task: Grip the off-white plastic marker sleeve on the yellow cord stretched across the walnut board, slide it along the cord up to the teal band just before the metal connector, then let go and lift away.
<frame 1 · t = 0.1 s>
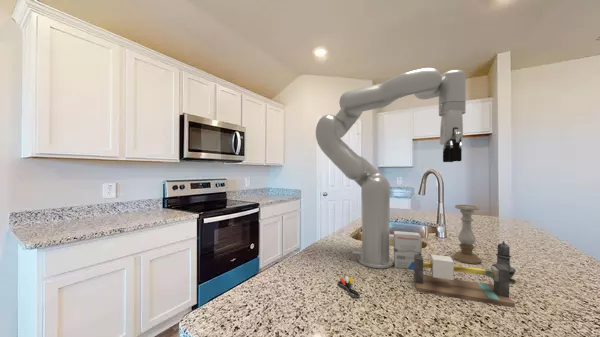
hand: (451, 161, 80), 37 cm above the countertop, tool pointing down, fingers open, 9 cm apart
composite cable: (347, 291, 69), on the countertop
ink box: (406, 266, 85), on the countertop
marker sleeve: (441, 266, 70), point 6 cm above the countertop, slide at 0.0 cm
candle holder: (466, 260, 92), on the countertop
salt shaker: (503, 280, 76), on the countertop
cord board: (457, 290, 69), on the countertop
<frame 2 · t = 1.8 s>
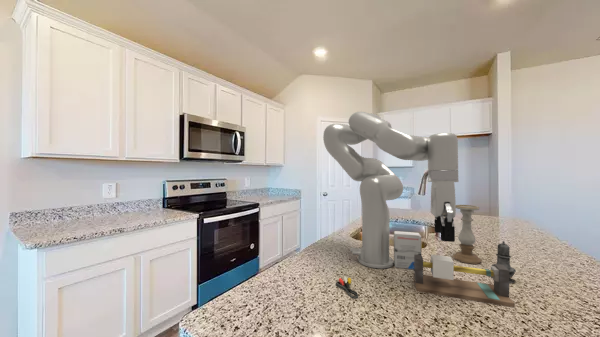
hand: (444, 236, 70), 15 cm above the countertop, tool pointing down, fingers open, 9 cm apart
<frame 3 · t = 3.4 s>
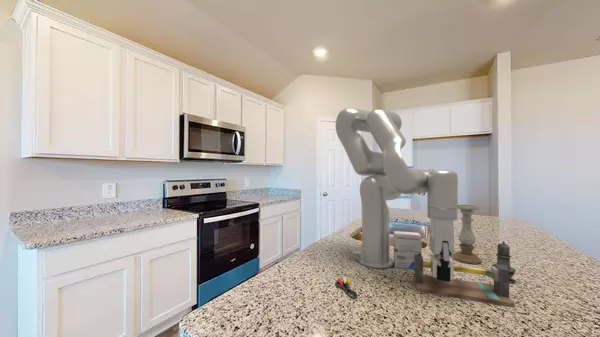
hand: (441, 275, 70), 3 cm above the countertop, tool pointing down, fingers closed on marker sleeve, 4 cm apart
marker sleeve: (441, 266, 70), point 6 cm above the countertop, slide at 0.0 cm, touching gripper
everything else where it was.
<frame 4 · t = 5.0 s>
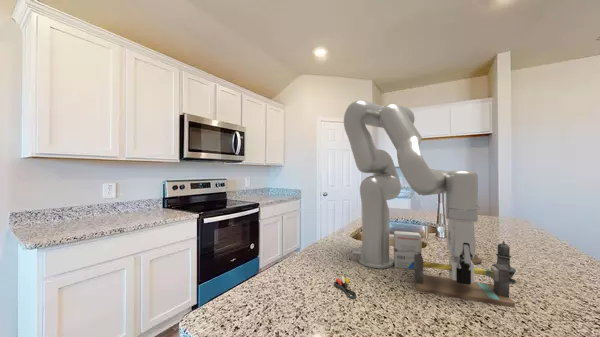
hand: (461, 278, 68), 3 cm above the countertop, tool pointing down, fingers closed on marker sleeve, 4 cm apart
marker sleeve: (461, 269, 68), point 6 cm above the countertop, slide at 4.8 cm, touching gripper
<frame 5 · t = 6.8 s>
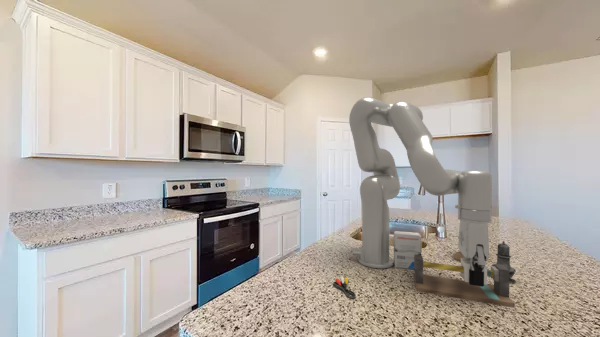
hand: (473, 280, 67), 3 cm above the countertop, tool pointing down, fingers closed on marker sleeve, 4 cm apart
marker sleeve: (473, 270, 67), point 6 cm above the countertop, slide at 7.7 cm, touching gripper
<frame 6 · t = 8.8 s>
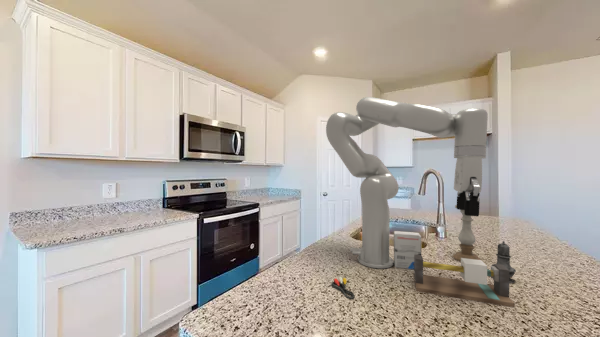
hand: (466, 212, 70), 22 cm above the countertop, tool pointing down, fingers open, 9 cm apart
marker sleeve: (473, 270, 67), point 6 cm above the countertop, slide at 7.7 cm
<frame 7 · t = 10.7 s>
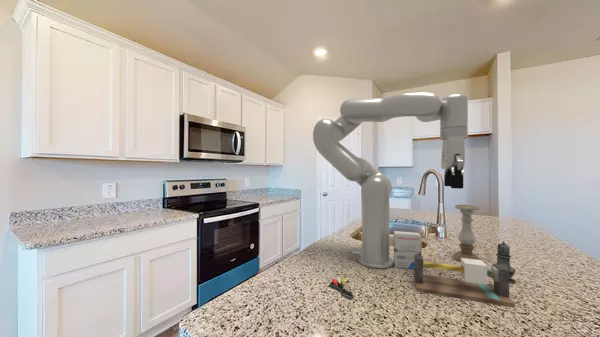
hand: (453, 187, 79), 28 cm above the countertop, tool pointing down, fingers open, 9 cm apart
at the end: marker sleeve slide at 7.7 cm; the gripper is holding nothing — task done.
